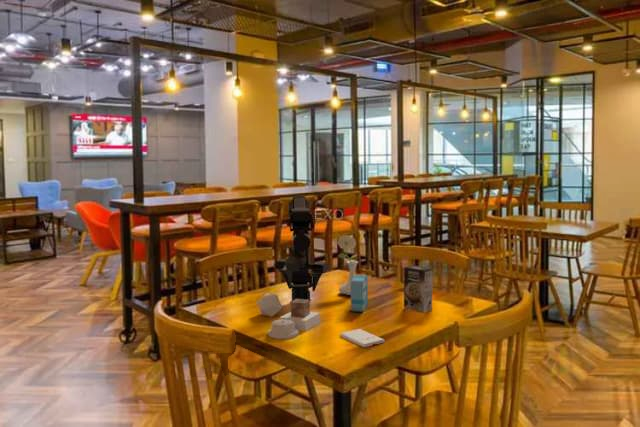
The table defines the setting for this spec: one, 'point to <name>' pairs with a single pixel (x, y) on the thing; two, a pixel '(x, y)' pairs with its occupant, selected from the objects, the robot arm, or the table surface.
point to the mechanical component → (283, 329)
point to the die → (269, 304)
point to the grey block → (304, 320)
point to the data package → (359, 293)
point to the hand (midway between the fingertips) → (301, 289)
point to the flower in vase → (347, 244)
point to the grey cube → (300, 308)
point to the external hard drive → (361, 338)
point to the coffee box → (418, 288)
